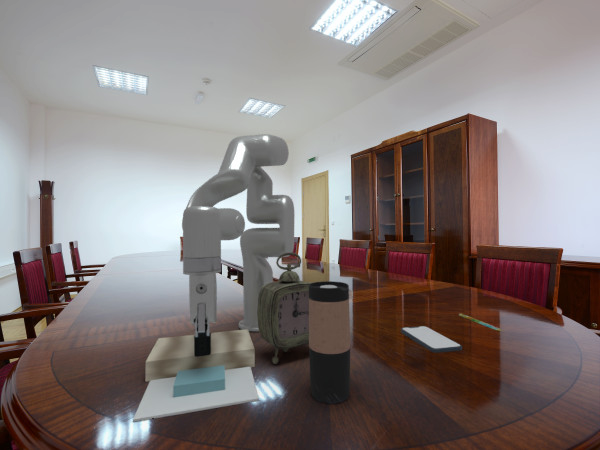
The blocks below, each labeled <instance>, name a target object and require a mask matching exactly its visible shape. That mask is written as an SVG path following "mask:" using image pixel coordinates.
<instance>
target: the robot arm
mask: <svg viewBox="0 0 600 450" xmlns="http://www.w3.org/2000/svg"><path fill="white" fill-rule="evenodd" d="M288 159H289V146H288V144H287V141H285V139H283V138H282V137H280V136H276V135H272V134H268V133H267V134H253V135H241V136H236V137H234V138H232V140H231V141H229V143H228V145H227V149H226V151H225V154H224V156H223V159H222V162H221V164H220V168H219V171H218V172H217V174H214V175H213V176H212V177H210V178H209V179H208V180H207V181H205V182H203V184H202V185H200V186H199V187H198V188H197V189H196V190H194V192H193V194H192V195H191V196H190V198H189V199H188V203H187V204H186V207H185V209H184V210H183V213H182V220H181V222H182V223H181V228H182V257H183V258H182V274H183V275H187V276H189V277H188V279H189V280H188V281H189V282H188V288H189V291H188V292H189V295H188V296H189V297H188V298H189V317H190V319H189V320H190V324H191V325H192V326H194V335H195V336H194V356H195V357H199V356H207V355H210V354H211V333H212V332H211V331H210V330H211V329H210V328H211V325H210V324H211V323H213V324H216V323H217V322H218V321H217V319H218V317H217V316H218V313H217V312H218V304H217V303H218V302H217V301H218V296H217V295H218V292H217V291H218V290H217V289H218V286H217V285H218V284H217V274H219V273H222V241H232V240H233V241H235V240H236V239H237V240H238V238H239V246H240V251H241V258H242V270H243V271H242V275H243V276H242V279H243V283H242V284H243V287H242V288H243V289H242V291H243V296H242V297H243V298H242V299H243V319H241V320H240V321H239V322H238V328H239V330H245V329H248V331H249V332H259V327H258V316H257V309H258V297H259V292H260V289H261V287H262V286H264V285H265V284H268V283H271V282H274V272H273V268H272V266H271V264H270V263H269V261H268V260H267V258H278V257H279V256H280V255H282V254H283V253H294V248H295V204H294V201H293V199H292V197H291V196H289V195H286V194H273V188H274V187H273V185H274V184H273V180H272V178H271V177H270V176H269V174H268V173H267V172H266V171H265V170H264V169H263V168H262V167H275V166H276V167H278V166H284V165H285V164H286V163H287V161H288ZM244 191H246V212H245V213H246V219H247V221H248V222H249V223H250V224H255V225H279V227H252V228H248V229H245V228H246V222H245V218H244V215H243V214H242V212H240V211H239V210H237V209H236V208H230V207H229V208H228V207H227V208H226V207H225V208H224V207H223V208H221V207H220V208H217V207H215V205H217V204H219V203H221V202H222V201H225V200H227V199H229V198H230V199H231V198H232V197H236V196H237V195H239V194H242V193H243V192H244ZM290 256H291V255H287V256H283V257H282V258H287V257H290Z"/></svg>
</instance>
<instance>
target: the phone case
mask: <svg viewBox="0 0 600 450" xmlns="http://www.w3.org/2000/svg"><path fill="white" fill-rule="evenodd" d="M400 333H401V334H402V335H404V336H406V337H407V338H408V339H410V340H412V341H413V342H416V343H417V344H418V345H419V346H421V347H423V348H424V349H426V350H428V351H429V352H431V353H435V354H438V353H447V352H459V351H460V352H461V351H462V350H463V345H462V344H459V343H458V342H456V341H454V340H452V339H450V338H449V337H446V336H445V335H442V334H441V333H439V332H437V331H435V330H433V329H432V328H430V327H428V326H425V325H420V326H408V327H401V328H400Z"/></svg>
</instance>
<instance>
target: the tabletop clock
mask: <svg viewBox="0 0 600 450" xmlns="http://www.w3.org/2000/svg"><path fill="white" fill-rule="evenodd" d="M287 255H290V256H294V257H296V258H298V260H299V262H298V263H297V264H296V265H293V266H292V264H291V263H287V265H286V266H285V267H284V266H281V265H280V263H279V261H280V259H282V258H284V257H283V256H287ZM276 258H277V259H276V262H275V263H276V266H277V267H278V268H279V269H280V270H282V271H283V270H284V271H283V272H282V273H281V274H280V275H279V278H278V280H275V281H273V282H271V283H268V284H265V285H264V286H262V287H261V289H260V292H259V297H258V309H257V316H258V327H259V331H258V332H259V334H260V337H261V339H263V340H264V341H265V342H267V343H268V344H269V345H271V346H272V347H274V356H273V357H272V358H271V363H272V364H273V365H277V364H278V363H279V357H278V354H279V350H280V349H281V350H282V352H283V353H287V352H289V349H292V348H293V349H294V348H299V347H301V346H304V345H309V284H311V283H312V282H308V281H303V280H300V276H299V274H298V273H297V272H296V271H294V270H295V269H297V268H299V266H301V264H302V258H301V256H300V255H299V254H298V253H296V252H293V253H283V254H282V255H280V256H279V257H276Z"/></svg>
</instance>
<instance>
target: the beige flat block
mask: <svg viewBox="0 0 600 450" xmlns="http://www.w3.org/2000/svg"><path fill="white" fill-rule="evenodd" d="M210 333H211V354H210V355H207V356H199V357H195V356H194V336H195V334H188V335H187V334H186V335H179V336H178V335H177V336H170V337H169V336H168V337H158V338H157V340H156V342H155V344H154V346H153V348H152V350H151V351H150V353H149V355H148V357H147V358H146V360H145V382H148V383H149V382H150V380H156V379H164V378H171V377H176V376H177V373H178V371H183V370H191V369H199V368H206V367H214V366H222V365H224V366H225V370H229V369H236V368H243V367H251V368H253V367H254V368H255V366H256V363H255V362H256V361H255V358H256V356H255V355H256V353H255V352H256V351H255V349H256V348H255V346H254V343H253V341H252V337H251V335H250V331H248V329H245V330H242V329H237V330H236V329H235V330H227V331H226V330H225V331H218V332H210Z"/></svg>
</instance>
